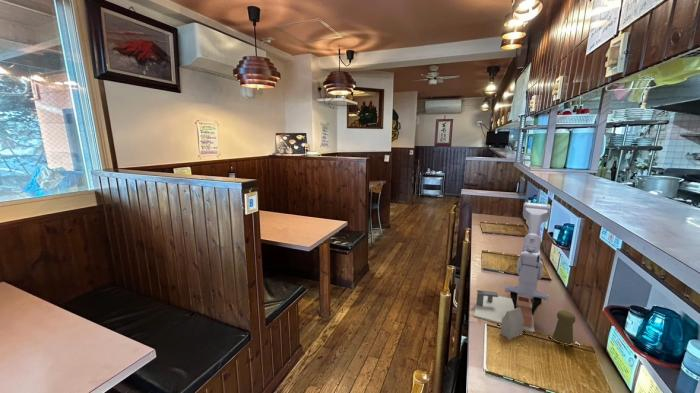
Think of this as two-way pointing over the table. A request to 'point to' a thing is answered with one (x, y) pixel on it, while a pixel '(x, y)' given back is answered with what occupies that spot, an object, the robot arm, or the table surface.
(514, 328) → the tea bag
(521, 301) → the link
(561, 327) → the cork
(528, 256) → the robot arm
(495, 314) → the board
